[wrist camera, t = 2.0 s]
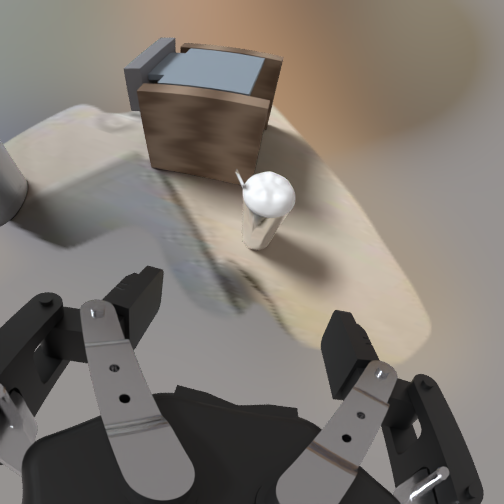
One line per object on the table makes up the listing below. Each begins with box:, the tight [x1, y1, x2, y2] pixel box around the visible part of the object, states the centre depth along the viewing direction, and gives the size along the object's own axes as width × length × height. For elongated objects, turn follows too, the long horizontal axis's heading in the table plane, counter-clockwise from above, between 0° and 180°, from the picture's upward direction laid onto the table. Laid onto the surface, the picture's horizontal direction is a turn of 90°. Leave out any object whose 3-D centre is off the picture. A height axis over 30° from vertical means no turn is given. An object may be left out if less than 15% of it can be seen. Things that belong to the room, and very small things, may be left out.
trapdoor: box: [124, 38, 265, 111], centre depth 26 cm, size 13×9×6 cm
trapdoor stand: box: [137, 43, 283, 185], centre depth 30 cm, size 13×13×12 cm
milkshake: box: [235, 169, 295, 251], centre depth 26 cm, size 4×5×10 cm
